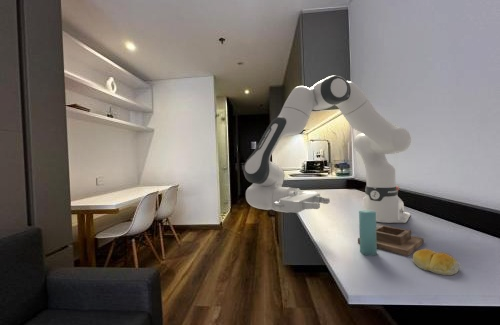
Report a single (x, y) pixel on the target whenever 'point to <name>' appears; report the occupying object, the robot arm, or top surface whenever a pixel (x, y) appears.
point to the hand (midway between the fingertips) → (324, 203)
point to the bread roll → (435, 262)
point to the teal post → (367, 232)
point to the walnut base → (396, 240)
